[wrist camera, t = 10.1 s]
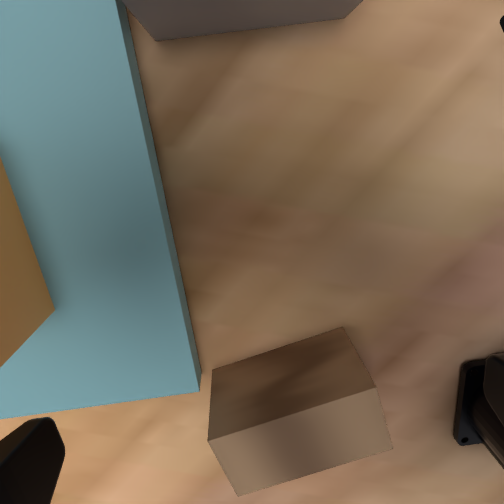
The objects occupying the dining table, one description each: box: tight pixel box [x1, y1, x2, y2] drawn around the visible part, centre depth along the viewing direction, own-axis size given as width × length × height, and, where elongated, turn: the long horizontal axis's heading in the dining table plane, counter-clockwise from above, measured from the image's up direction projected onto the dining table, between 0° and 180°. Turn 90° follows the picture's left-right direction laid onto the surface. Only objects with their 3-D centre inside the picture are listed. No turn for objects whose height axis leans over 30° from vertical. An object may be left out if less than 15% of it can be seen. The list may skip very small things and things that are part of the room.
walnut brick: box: [208, 327, 393, 497], centre depth 18 cm, size 8×4×5 cm, turn 109°
